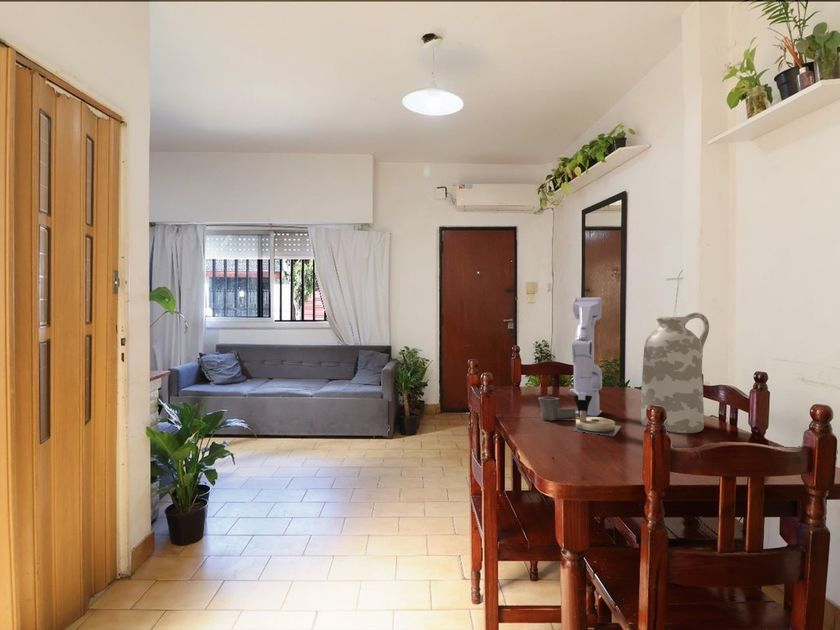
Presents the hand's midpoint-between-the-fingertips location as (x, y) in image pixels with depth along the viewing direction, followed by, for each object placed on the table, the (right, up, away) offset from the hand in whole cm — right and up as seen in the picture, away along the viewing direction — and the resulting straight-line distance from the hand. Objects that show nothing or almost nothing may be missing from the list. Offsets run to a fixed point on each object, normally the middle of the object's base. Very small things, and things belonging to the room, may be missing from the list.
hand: (582, 417), depth 155 cm
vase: (+31, -4, +2) cm, 31 cm away
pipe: (-5, -4, +12) cm, 14 cm away
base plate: (+4, -4, -1) cm, 6 cm away
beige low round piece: (+4, -4, -1) cm, 5 cm away
